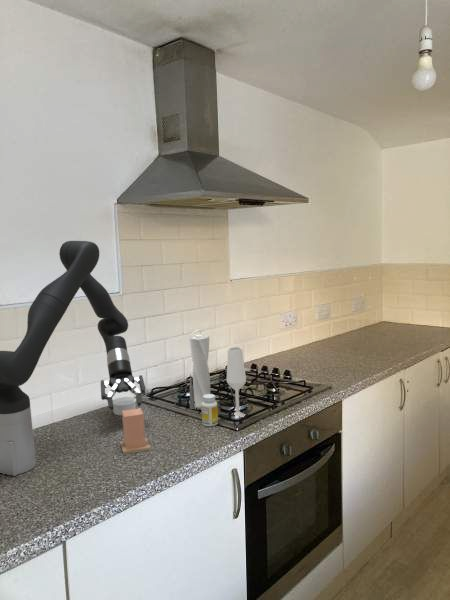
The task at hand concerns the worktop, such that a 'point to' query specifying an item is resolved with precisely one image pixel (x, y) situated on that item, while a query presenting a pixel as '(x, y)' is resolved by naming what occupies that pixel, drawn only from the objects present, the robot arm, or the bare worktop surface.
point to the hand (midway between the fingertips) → (125, 407)
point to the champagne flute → (236, 373)
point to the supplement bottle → (209, 410)
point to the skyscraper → (199, 369)
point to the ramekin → (123, 404)
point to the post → (128, 451)
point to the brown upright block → (133, 428)
